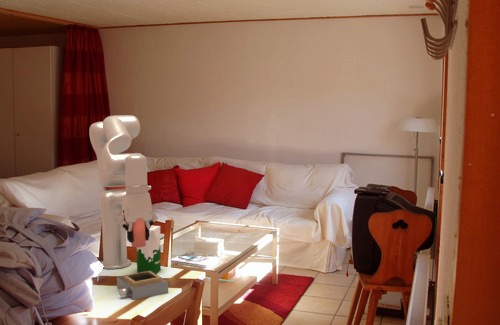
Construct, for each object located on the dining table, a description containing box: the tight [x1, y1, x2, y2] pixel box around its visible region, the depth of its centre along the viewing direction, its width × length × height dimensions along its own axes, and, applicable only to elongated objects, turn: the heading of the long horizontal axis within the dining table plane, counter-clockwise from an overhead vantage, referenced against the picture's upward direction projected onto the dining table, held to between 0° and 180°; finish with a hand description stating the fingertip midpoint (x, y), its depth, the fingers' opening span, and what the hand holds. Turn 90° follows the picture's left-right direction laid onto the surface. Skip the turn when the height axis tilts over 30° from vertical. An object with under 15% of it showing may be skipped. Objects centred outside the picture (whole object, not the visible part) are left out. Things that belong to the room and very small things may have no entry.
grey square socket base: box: [116, 271, 169, 301], centre depth 195 cm, size 16×16×5 cm
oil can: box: [130, 218, 146, 248], centre depth 194 cm, size 5×5×13 cm
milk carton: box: [135, 225, 162, 274], centre depth 217 cm, size 9×9×20 cm
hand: (138, 240), depth 194 cm, fingers closed on oil can, 5 cm apart
